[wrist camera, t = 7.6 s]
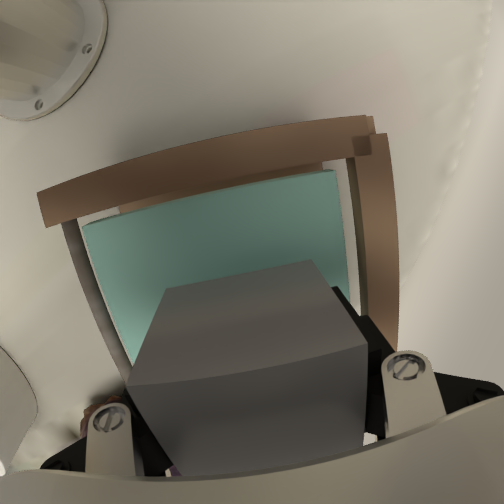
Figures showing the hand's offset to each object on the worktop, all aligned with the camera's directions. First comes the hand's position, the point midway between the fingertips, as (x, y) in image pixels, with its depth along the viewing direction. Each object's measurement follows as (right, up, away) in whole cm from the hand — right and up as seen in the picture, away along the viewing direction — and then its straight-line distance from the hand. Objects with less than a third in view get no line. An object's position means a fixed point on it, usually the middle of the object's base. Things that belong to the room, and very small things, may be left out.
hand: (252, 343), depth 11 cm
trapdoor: (-1, +1, +4) cm, 4 cm away
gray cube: (0, 0, 0) cm, 1 cm away
